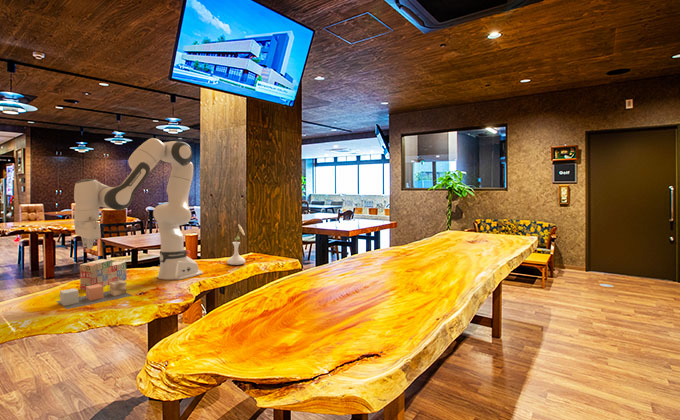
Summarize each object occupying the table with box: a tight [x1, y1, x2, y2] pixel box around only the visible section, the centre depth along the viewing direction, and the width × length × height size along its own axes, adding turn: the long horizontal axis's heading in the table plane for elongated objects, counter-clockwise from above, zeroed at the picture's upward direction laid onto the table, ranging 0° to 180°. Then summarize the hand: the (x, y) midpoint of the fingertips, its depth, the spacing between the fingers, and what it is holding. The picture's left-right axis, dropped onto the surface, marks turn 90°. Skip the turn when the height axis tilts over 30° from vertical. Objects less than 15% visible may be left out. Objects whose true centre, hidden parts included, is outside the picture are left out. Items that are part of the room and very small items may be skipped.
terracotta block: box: [85, 284, 105, 300], centre depth 155 cm, size 5×5×5 cm
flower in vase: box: [226, 223, 246, 266], centre depth 227 cm, size 13×11×25 cm
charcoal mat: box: [56, 290, 133, 310], centre depth 155 cm, size 24×14×1 cm, turn 141°
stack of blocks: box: [79, 258, 127, 291], centre depth 176 cm, size 21×6×12 cm, turn 170°
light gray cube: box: [59, 288, 80, 306], centre depth 148 cm, size 5×5×5 cm
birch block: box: [109, 280, 127, 296], centre depth 162 cm, size 5×5×5 cm
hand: (87, 247), depth 159 cm, fingers open, 4 cm apart
